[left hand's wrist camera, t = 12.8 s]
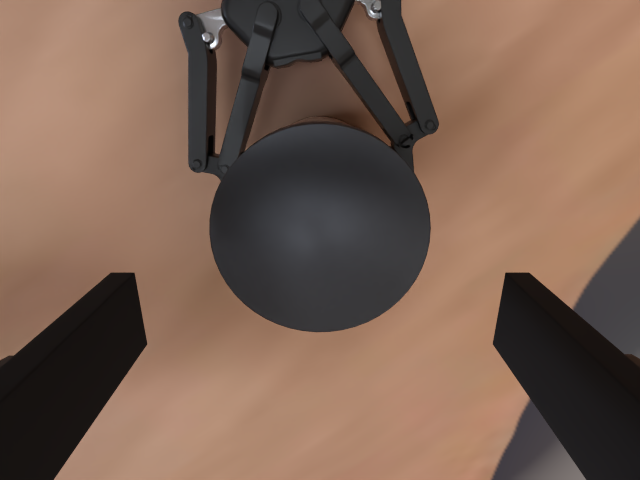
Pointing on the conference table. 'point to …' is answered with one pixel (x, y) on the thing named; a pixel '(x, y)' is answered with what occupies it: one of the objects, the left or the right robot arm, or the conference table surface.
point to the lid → (320, 227)
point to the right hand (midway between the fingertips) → (329, 244)
